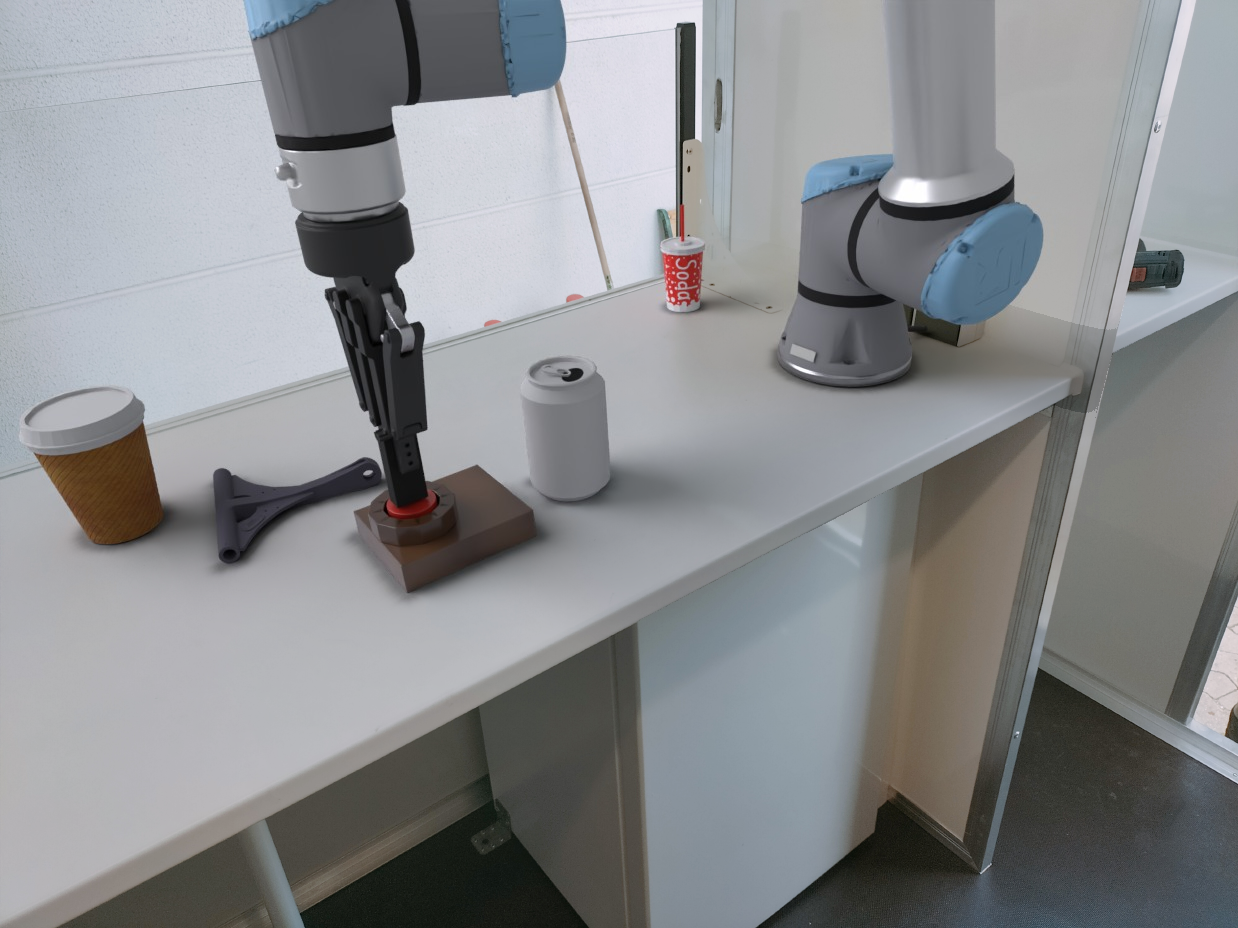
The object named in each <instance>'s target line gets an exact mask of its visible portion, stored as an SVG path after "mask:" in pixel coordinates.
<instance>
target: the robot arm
mask: <svg viewBox="0 0 1238 928" xmlns="http://www.w3.org/2000/svg"><path fill="white" fill-rule="evenodd" d="M243 6H244V10H245V16H246V21H247V26H248V30H247V32H248V35H249V38H250V42H251V46H252V51H253V53H254V58H255V62H256V66H257V70H258V74H259V78H260V82H261V86H262V90H263V94H264V98H265V102H266V106H267V109H268V114H269V118H270V122H271V126H272V129H273V134H274V137H275V141H276V145H277V148H278V153H279V158H280V159H281V162H282V164H279V165H276V166H275V167H274V173H275V176H276V179H277V180H279V181H281V182H282V181H283V182H285V183H286V187H287V191H288V196H289V199H290V203H291V207H293V208H294V209H296V210H297V211H299V214H298V215H297V217H296V219H295V221H294V225H295V229H296V233H297V237H298V242H299V245H300V246H299V247H300V250H301V255H302V258H303V263H304V265H305V267H306V268H307V270H308V271H309V272H311V273H312V274H315V275H316V276H320V277H324V278H329V279H331V278H332V279H333V283H334V286H332V287H328V288H327V287H326V288H325V289H324V299H325V301H326V302H327V304H328V306H329V309H330V311H331V314H332V317H333V319H334V322H335V325H336V329H337V333H338V336H339V339H340V342H341V347H342V349H343V352H344V356H345V359H346V362H347V365H348V369H349V373H350V376H351V380H352V383H353V386H354V388H355V392H356V396H357V399H358V405H359V407H360V409H361V411H363V412H364V413H366V412H367V413H368V416H369V423H371V424H372V426H373V427H374V428H378V429H376V430H375V431H373V435H374V438H375V439H376V442H377V444H378V449H379V454H380V458H381V464H382V468H383V472H384V477H385V478H384V479H385V483H386V487H387V490H388V491H389V496H390V501H391V502H392V503H393V504H394V505H395V506H396V507H397V508H400V507H402V506H405V505H407V504H410V503H413V502H415V501H418V500H420V499H423V498H426V497H428V491H427V486H426V481H427V480H426V476H425V471H424V466H423V465H424V464H423V460H422V455H421V449H420V444H419V439H418V434H420V433H424V432H426V431H428V413H427V412H428V411H427V397H426V385H425V384H426V383H425V382H426V381H425V368H424V355H423V354H424V353H423V351H424V350H423V349H424V344H425V338H426V331H425V326H424V325H423V323H421V321H420V320H417V321H414V322H411V323H409V322H408V320H407V318H406V312H407V310H408V309H407V308H408V307H407V302H406V301H407V300H406V297H405V296H406V295H405V293H404V290H403V289H402V288H401V287H400V284H399V282H398V279H397V278H396V275H397V272H398V270H399V269H400V268H401V267H402V266H405V265H406V264H408V263H409V262H411V260H412V259H413V258H414V256H415V251H416V249H415V244H414V238H413V232H412V231H413V230H412V225H411V219H410V213H409V209H408V207H407V206H405V204H404V203H403V202H401V200H402V199H403V198H404V196H405V195H406V192H407V190H406V189H407V188H406V184H405V178H404V172H403V167H402V159H401V155H400V149H399V142H398V137H397V134H396V130H395V126H394V123H393V122H394V121H393V107H399V106H400V107H402V106H403V107H407V106H416V105H418V104H426V103H438V102H439V103H440V102H447V101H448V102H450V101H459V100H472V99H483V98H495V97H496V98H497V97H507V96H511V98H517V97H519V96H520V95H522V94H529V93H534V92H540V91H541V92H542V91H546V90H549V89H551V88H553V87H554V86H555V85H556V84H557V83H558V82H559V80H560V79H561V77H562V74H563V71H564V67H565V64H566V58H567V57H566V56H567V29H566V27H567V26H566V18H565V13H564V8H563V4H562V1H561V0H243ZM881 10H882V11H881V13H882V25H883V38H884V39H883V40H884V52H885V66H886V67H885V68H886V78H887V92H888V105H889V107H888V108H889V121H890V132H891V147H892V153H880V154H866V155H854V156H845V157H839V158H833V159H828V160H827V159H826V160H824V161H820V162H818V163H815V164H813V165H812V166H811V167H810V168H809V169H808V170H807V172H806V175H805V178H804V185H803V193H802V198H801V200H800V203H801V221H800V222H801V223H800V243H799V244H800V245H799V261H798V279H797V280H798V281H797V294H796V298H795V300H794V303H793V306H792V308H791V310H790V313H789V316H788V318H787V321H786V323H785V326H784V330H783V332H782V333H781V336H780V338H779V343H778V351H777V360H778V362H779V365H780V366H781V367H782V368H783V370H785V371H787V372H788V373H789V374H791V375H793V376H795V377H798V378H800V379H802V380H805V381H808V382H812V383H815V384H820V385H827V386H832V387H833V386H834V387H835V386H836V387H850V388H852V387H853V388H855V387H856V388H857V387H868V386H869V387H870V386H875V385H877V386H878V385H881V384H886V383H889V382H892V381H894V380H897V379H899V378H901V377H903V376H904V375H905V374H906V373H907V372H908V371H909V370H910V368H911V366H912V360H913V359H912V357H913V345H912V340H911V338H910V335H909V333H913V332H914V333H916V332H918V333H919V332H927V331H928V329H929V328H928V326H927V325H926V324H925V325H908V321H907V317H906V311H905V307H904V305H905V306H907V307H910V308H912V309H915V310H917V311H919V312H921V313H923V314H924V315H926V316H927V317H929V318H931V319H934V320H938V319H939V320H943V321H944V322H945V321H946V322H948V323H951V324H954V325H959V326H971V325H976V324H979V323H982V322H985V321H987V320H989V319H991V318H993V317H995V316H996V315H998V314H999V313H1000V312H1002V311H1003V310H1005V309H1006V308H1007V307H1008V306H1009V305H1010V304H1011V303H1012V302H1014V300H1015V299H1017V297H1018V296H1019V295H1020V293H1021V291H1022V289H1023V288H1024V287H1025V286H1026V285H1027V284H1028V282H1029V281H1030V279H1031V278H1032V275H1033V274H1034V272H1035V270H1036V268H1037V265H1038V263H1039V260H1040V258H1041V255H1042V250H1043V246H1044V236H1045V235H1044V226H1043V223H1042V220H1041V218H1040V216H1039V215H1038V214H1037V213H1035V212H1034V211H1033V209H1032V208H1031V207H1030V206H1028V205H1027V204H1023V203H1021V202H1020V201H1016V200H1015V186H1016V185H1015V173H1016V172H1015V164H1014V162H1013V161H1012V159H1011V158H1009V157H1008V156H1007V155H1005V154H1004V153H1003V152H1001V151H1000V150H998V149H997V138H996V137H997V132H996V131H997V130H996V129H997V127H996V125H997V122H996V120H997V116H996V111H997V110H996V108H997V107H996V0H881ZM922 326H924V327H922Z"/></svg>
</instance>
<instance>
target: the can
mask: <svg viewBox="0 0 1238 928" xmlns="http://www.w3.org/2000/svg"><path fill="white" fill-rule="evenodd" d="M597 371H598V366H597V365H596V363H595V362H594V361H592V360H590V359H589V358H586V357H583V356H579V355H566V354H565V355H553V356H549V357H545V358H541V359H538V360H537V361H535V362H533V363H531V364H530V365H529V366H528V367H527V368H526V370H525V373H524V375H525V378H524V380H522V382H521V385H520V388H519V394H520V403H521V412H522V420H523V427H524V428H523V429H524V436H525V445H526V453H527V461H528V470H529V471H528V472H529V478H530V479H529V480H530V482H531V485H532V488H534V489H535V490H536V491H537V492H538V493H540V494H542V495H544V496H545V497H546V498H549V499H551V500H554V501H558V502H577V501H578V502H579V501H583V500H585V499H588V498H591V497H593V496H594V495H596V494H598V493H599V492H600V490H602V489H603V488H604V487H605V486H606V485H607V484H608V483H609V481H610V480H611V472H612V471H611V457H610V455H611V454H610V439H609V426H608V409H607V393H606V392H607V391H606V381H605V379H604V377H603V376H602V375H601V374H600V373H599V372H597Z"/></svg>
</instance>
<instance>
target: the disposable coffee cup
mask: <svg viewBox="0 0 1238 928" xmlns="http://www.w3.org/2000/svg"><path fill="white" fill-rule="evenodd" d="M145 407H146V406H145V404H144V402H143V401H142V400H141V399H139V398H137V396H136V395H135V393H134V392H133V391H132V390H131V389H130V388H127V387H125V386H122V385H121V386H120V385H114V384H113V385H110V384H108V385H107V384H105V385H104V384H103V385H92V386H87V387H81V388H77V389H73V390H68V391H65V392H62V393H59V394H55V395H53V396H50V397H48V398H45V399H43V400H41V401H39V402H37V403H36V404H34V405H31V406H30V407H29V408H28V409H26V410H25V411H24V412H23V413H22V414H21V415H20V417H19V420H18V422H19V433H18V440H19V443H21V444H22V445H23V447H26V449H28V450H29V451H30V452H31V453H33V455H34V456H35V458H36V460H37V461H38V463H39V465H40V466H41V467H42V469H43V471H44V472H45V473H46V475H47V477H48V478H49V479H50V481H51V483H52V484H53V486H54V487H55V489H56V490H57V492H58V494H59V495H60V496H61V498H62V500H63V501H64V503H65V504H66V506H67V507H68V509H69V511H70V512H71V513H72V515H73V517H74V518H75V519H76V521H77V523H78V524H79V525H80V528H81V529H82V530H83V532H84V533H85V535H86V536H87V538H88V539H89V541H91V542H92V543H95V544H99V545H116V544H120V543H125V542H129V541H131V540H135V539H137V538H139V537H141V536H144V535H145V534H148V533H149V532H151V531H153V529H155V528H156V527H157V526H158V525H159V524H160V523H161V522H162V521H163V518H164V510H163V505H162V502H161V496H160V492H159V487H158V482H157V477H156V473H155V469H154V468H155V467H154V465H153V464H154V463H153V459H152V455H151V450H150V446H149V441H148V436H147V432H146V426H145V423H144V419H145V411H146V408H145Z"/></svg>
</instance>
